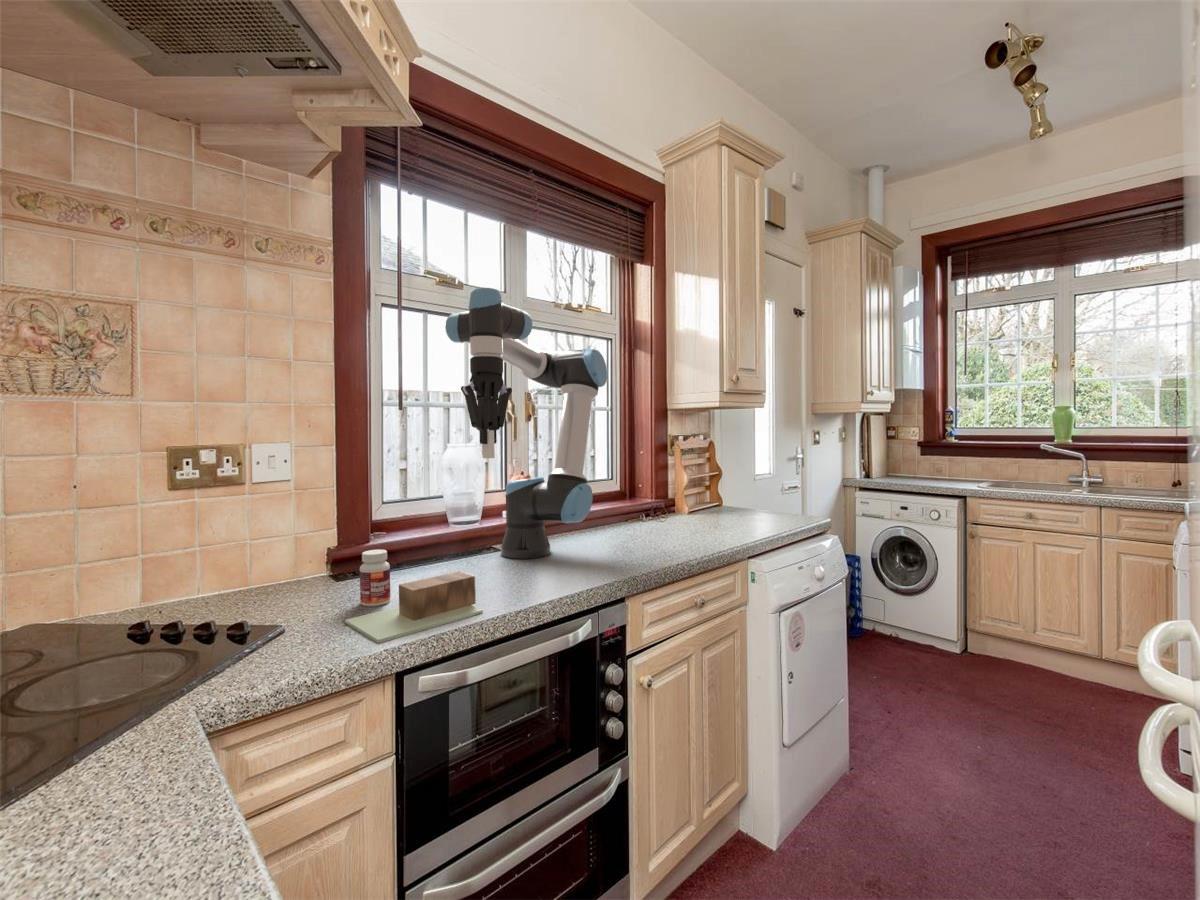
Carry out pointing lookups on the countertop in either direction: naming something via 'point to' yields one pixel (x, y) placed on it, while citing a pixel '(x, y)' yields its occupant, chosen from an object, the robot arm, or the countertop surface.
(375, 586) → the pill bottle
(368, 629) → the board
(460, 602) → the walnut block
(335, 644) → the countertop surface
